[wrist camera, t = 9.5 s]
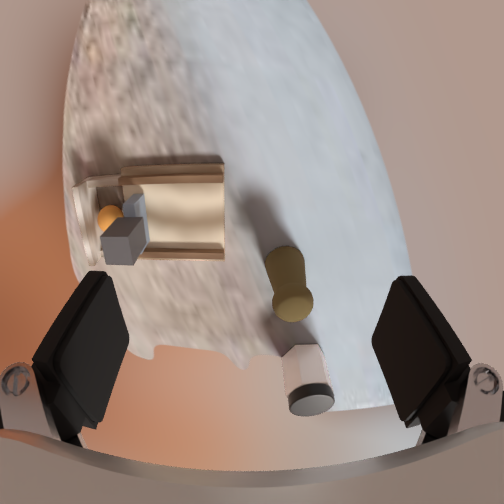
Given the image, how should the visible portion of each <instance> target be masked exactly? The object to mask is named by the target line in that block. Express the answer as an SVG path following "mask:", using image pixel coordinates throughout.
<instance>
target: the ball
mask: <svg viewBox="0 0 504 504" xmlns="http://www.w3.org/2000/svg"><path fill="white" fill-rule="evenodd" d="M117 217H124V215H123V212H122V211H121V209H120V208H118V207H117V206H114V205H108V206H105V207H104V208H102V209H101V211H100V212H99V214H98V218H97V221H98V225H99V227H100V229H101V230H102V231H105V230H106V229H107V228H108V227H109V226H110V225H111V224H112V223H113V222H114V220H115V219H116V218H117Z"/></svg>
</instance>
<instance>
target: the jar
mask: <svg viewBox="0 0 504 504" xmlns="http://www.w3.org/2000/svg"><path fill="white" fill-rule="evenodd" d="M281 359H282V367H283V376H284V385H285V394H286V396H287V398H288V402H289V410H290V412H291V413H292V414H294V415H298V416H314V415H318V414H321V413H323V412H325V411H327V410H329V409H330V408H331V407H332V406H333V404H334V402H335V400H334V394H333V388H332V384H331V379H330V375H329V371H328V367H327V363H326V359H325V356H324V354H323V352H322V350H321V349H320V347H319V345H318V344H309V345H295V346H294V347H293V348H292V349H290V350H289V351H288V352H287V353H286V354H285V355H284V356H283V357H282V358H281Z"/></svg>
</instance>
